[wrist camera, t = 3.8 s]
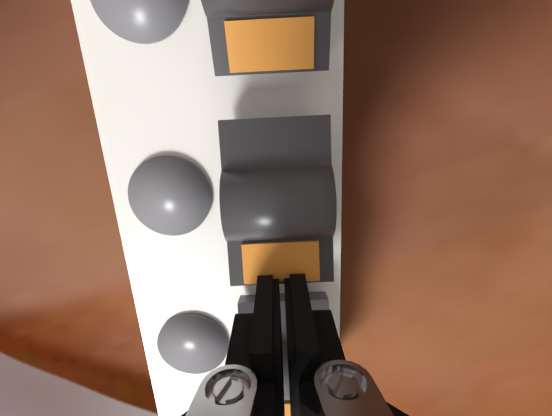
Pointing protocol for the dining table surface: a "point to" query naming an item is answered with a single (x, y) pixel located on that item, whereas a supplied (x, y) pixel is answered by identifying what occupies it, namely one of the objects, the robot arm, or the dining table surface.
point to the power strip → (186, 171)
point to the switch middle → (278, 197)
